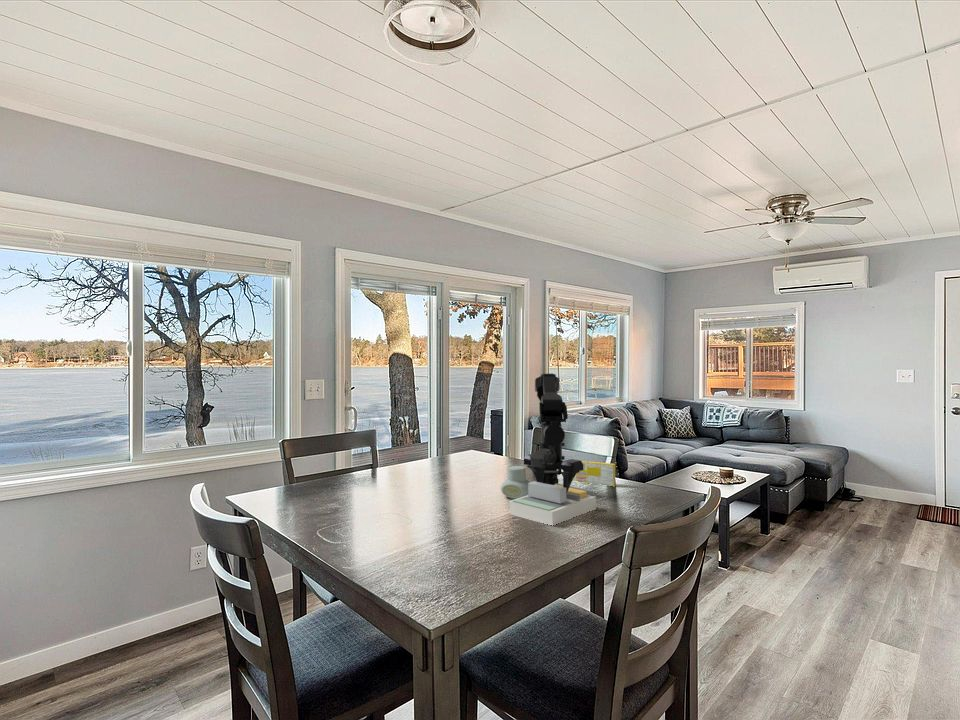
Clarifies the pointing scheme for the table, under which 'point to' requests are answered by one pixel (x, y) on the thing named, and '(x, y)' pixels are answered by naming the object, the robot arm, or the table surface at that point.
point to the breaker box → (553, 507)
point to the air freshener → (515, 483)
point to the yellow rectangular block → (576, 492)
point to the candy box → (596, 473)
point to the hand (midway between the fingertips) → (552, 490)
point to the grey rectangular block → (547, 492)
